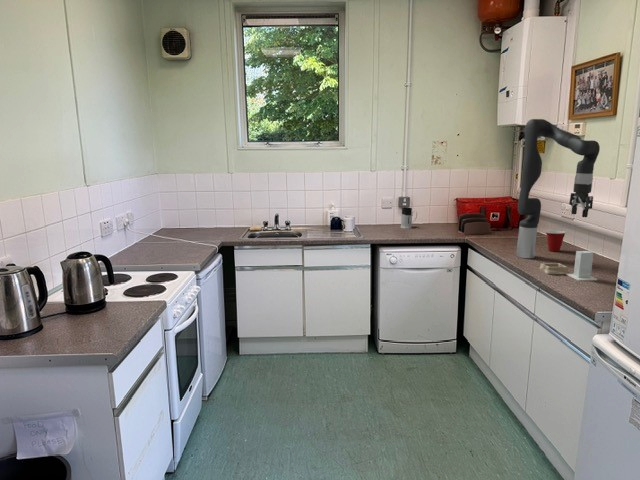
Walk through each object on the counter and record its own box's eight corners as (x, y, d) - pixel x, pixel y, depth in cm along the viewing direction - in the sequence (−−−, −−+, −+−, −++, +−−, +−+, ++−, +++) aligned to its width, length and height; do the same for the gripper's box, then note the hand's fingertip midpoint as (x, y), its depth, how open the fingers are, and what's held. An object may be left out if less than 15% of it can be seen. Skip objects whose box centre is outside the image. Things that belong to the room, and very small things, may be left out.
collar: (539, 270, 223) (540, 263, 222) (558, 269, 223) (558, 263, 222) (547, 274, 215) (548, 267, 215) (567, 273, 216) (567, 267, 215)
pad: (565, 274, 214) (566, 273, 214) (583, 274, 215) (583, 273, 215) (578, 280, 205) (578, 279, 205) (597, 280, 205) (597, 279, 205)
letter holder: (457, 232, 322) (458, 213, 319) (482, 231, 325) (484, 212, 322) (464, 235, 312) (465, 215, 310) (490, 234, 316) (491, 214, 313)
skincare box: (585, 275, 212) (588, 250, 209) (591, 277, 207) (594, 252, 205) (572, 275, 211) (575, 250, 209) (578, 277, 207) (581, 252, 205)
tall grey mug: (405, 225, 348) (406, 207, 345) (419, 228, 338) (420, 208, 335) (398, 227, 343) (398, 208, 340) (412, 229, 332) (413, 210, 329)
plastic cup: (552, 248, 270) (554, 228, 268) (568, 251, 260) (570, 231, 258) (539, 249, 266) (541, 230, 264) (554, 253, 257) (556, 233, 254)
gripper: (566, 181, 220) (563, 213, 224) (585, 184, 206) (580, 218, 210) (581, 181, 220) (577, 213, 224) (600, 184, 207) (596, 218, 210)
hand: (579, 215), depth 217 cm, fingers open, 8 cm apart
